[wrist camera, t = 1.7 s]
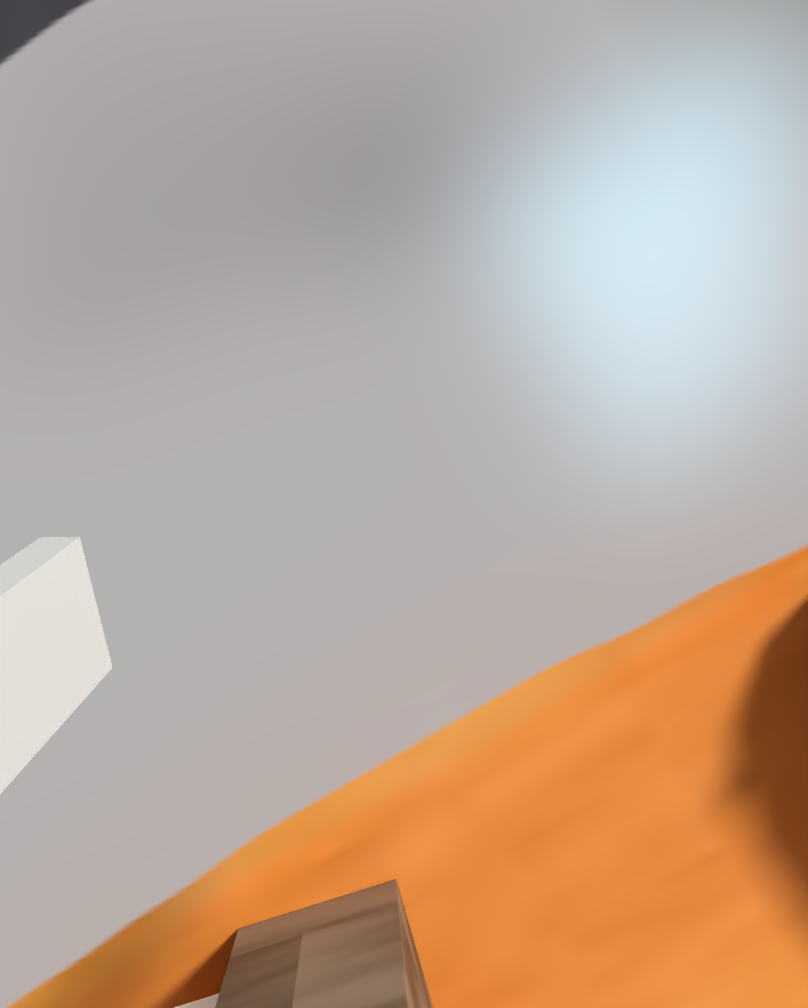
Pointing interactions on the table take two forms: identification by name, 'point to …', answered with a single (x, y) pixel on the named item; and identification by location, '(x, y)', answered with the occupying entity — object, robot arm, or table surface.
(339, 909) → the console
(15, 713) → the robot arm
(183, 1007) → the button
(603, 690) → the table surface
